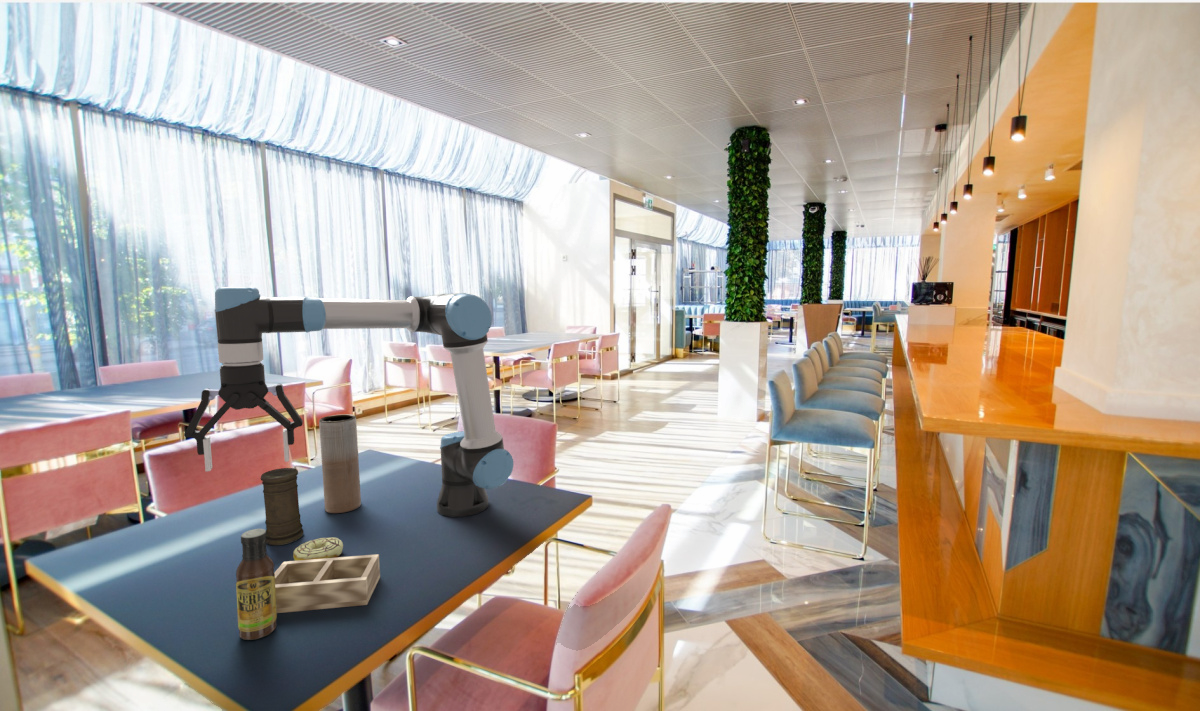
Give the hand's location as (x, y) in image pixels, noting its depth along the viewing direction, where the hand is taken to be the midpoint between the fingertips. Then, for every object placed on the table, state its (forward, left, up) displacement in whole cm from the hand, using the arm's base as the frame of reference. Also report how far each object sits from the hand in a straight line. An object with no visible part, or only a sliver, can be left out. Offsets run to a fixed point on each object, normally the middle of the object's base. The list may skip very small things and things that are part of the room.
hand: (249, 464), depth 110 cm
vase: (-3, -48, -29) cm, 56 cm away
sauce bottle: (-6, +13, -29) cm, 33 cm away
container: (+6, -29, -29) cm, 42 cm away
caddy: (-14, +2, -29) cm, 32 cm away
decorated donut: (-7, -16, -30) cm, 34 cm away
